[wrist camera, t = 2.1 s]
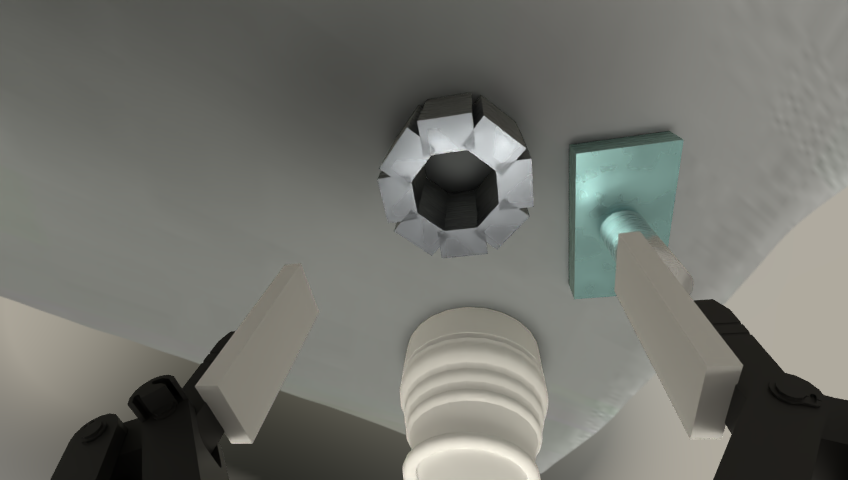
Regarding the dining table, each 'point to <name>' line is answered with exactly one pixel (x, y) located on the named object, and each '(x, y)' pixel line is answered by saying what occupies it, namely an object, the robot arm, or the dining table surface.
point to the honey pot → (473, 398)
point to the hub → (468, 210)
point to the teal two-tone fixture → (620, 206)
